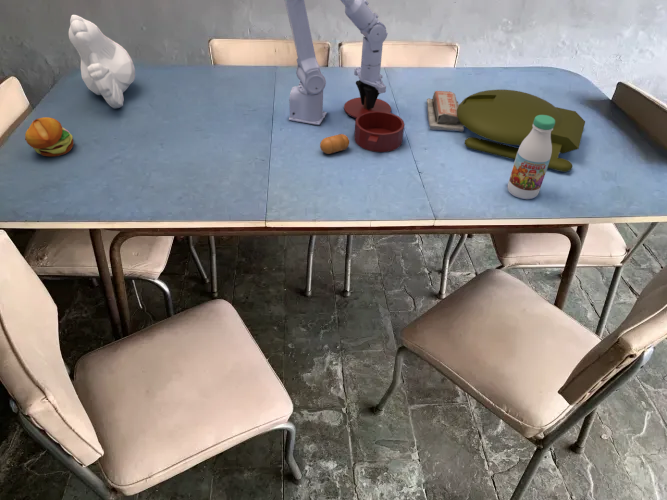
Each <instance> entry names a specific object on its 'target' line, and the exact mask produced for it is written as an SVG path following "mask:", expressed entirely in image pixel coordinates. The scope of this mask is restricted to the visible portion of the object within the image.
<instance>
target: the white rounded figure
mask: <svg viewBox="0 0 667 500" xmlns="http://www.w3.org/2000/svg"><path fill="white" fill-rule="evenodd" d="M69 24H70V26H69V29H68V38H69V41H70V43H71V45H72V46H73V48H74V49H75V50H76V52H77V53H78V55H79V58H80V74H81V79H82V81H83V82H84V84H85V86H86V87H87V89H88V90H90V91H91V92H92V93H94V94H95V95H97V96H102V97H103V99H104V101H105V102H106V103H107V104H108V106H109V107H111V108H112V109H119V108H122V107H123V106H124V100H125V99H124V93H125V92H126V91H127V90H128V88H129V87H130V86H131V84H133V82H134V81H135V79H136V69H135V64H134V62H133V61H134V60H133V59H132V57H131V56H130V54H129V52H128V51H127V50H126V49H125V47H123V46H122V45H121V44H119V43H118V42H116V41H114V40H113V39H111V38H110V37H108V36H106V35H105V34H104V33H103V32H102V30H101V29H100V27H99V26H97V25H96V24H95V23H94V22H92V21H90V20H89V19H85V18H84V17H82V16H80V15H78V14H72V15H70V19H69Z"/></svg>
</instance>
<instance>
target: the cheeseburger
mask: <svg viewBox="0 0 667 500" xmlns="http://www.w3.org/2000/svg"><path fill="white" fill-rule="evenodd" d="M73 138H74V136H73V134H71V133H70V131H69V130H68V129H66V128H64V127H63V126H62V123H61V122H60V121H59V120H57V119H55V118H53V117H48V116H47V117H46V116H45V117H39V118H36V119H34V120H32V122H31V124H30V125H29V127H28V128H27V130H25V134H24V140H25V141H26V144H27V145H28V146H30V148H32V149H33V150H34V151H35V152H36V153H37V154H40V155H41V156H43V157H60V156H62V155H66V154H68V153H69V152H70V151H71V150H72V149H73V147H74V139H73Z"/></svg>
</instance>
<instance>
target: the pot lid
mask: <svg viewBox="0 0 667 500" xmlns="http://www.w3.org/2000/svg"><path fill="white" fill-rule="evenodd" d="M383 109H384V110H390V111H391V112H390V113H392V107H391V105H390V104H389V103H388V102H387V101H385V100H383V99H380V98H377V100H376V102H375V105H374V108H371V109H367V107H366V95H365V96H364V105H362V103H361V98H360V96H359V97H354V98H351V99H349V100H347V101H346V102H345V103H344V105H343V110H344V113H345V114H347V115H348V116H350V117H352V118H354V119H357V117H358V116H359V115H361V114H363V113H366V112H371V111H382V110H383Z"/></svg>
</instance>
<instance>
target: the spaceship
mask: <svg viewBox="0 0 667 500" xmlns="http://www.w3.org/2000/svg"><path fill="white" fill-rule="evenodd" d="M458 104H459V106H458V108H457V116H458V119H459V121H460V122H461V123H462V124H463V127H464V128H466V129H468V130H469V131H470V132H472V133H474V134H475V135H477V136H480V137H482V138H480V137H476V136H469V137H467V138H466V139H464V145H465V146H466V147H467V149H470V150H474V151H478V152H480V153H481V152H482V153H486V154H490V155H494V156H498V157H502V158H506V159H509V160H514V161H515V159H516V155H517V152H518V149H519V147H516V146H520V145H521V143H522V141H523V140H524V139H525V138H526V137H527V136H528V135H529V133H530V132H531V130H532V129H533V122H534V119H535V117H536V116H538V115H547V116H550V117H552V118H554V119H555V125H554V127H553V130H552V131H551V144H552V154H551V158H550V161H549V164H548V167H547V169H549V170H553V171H556V172H563V173H565V172H566V173H567V172H569V171H571V170H573V163H572V162H571V161H570V160H568V159H566V158H562V157H559V155H560V154H565V153H569V152H572V151H576V150H579V149H580V145H581V141H582V137H583V132H584V130H585V125H586V120H584V119H583V118H582V117H581V115H580V114H579V113H578V112H577V111H575V110H571V109H566V108H562V107H558V106H555V105H554V104H552V103H550V102H549V101H547V100H546V99H544V98H541V97H539V96H537V95H534V94H531V93H529V92H528V93H527V92H525V91H520V90H519V91H518V90H514V89H486V90H482V91H478V92H475V93H473V94H470V95H468V96H466V97H465V98H464V99H462V101H461V102H460V103H458Z"/></svg>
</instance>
